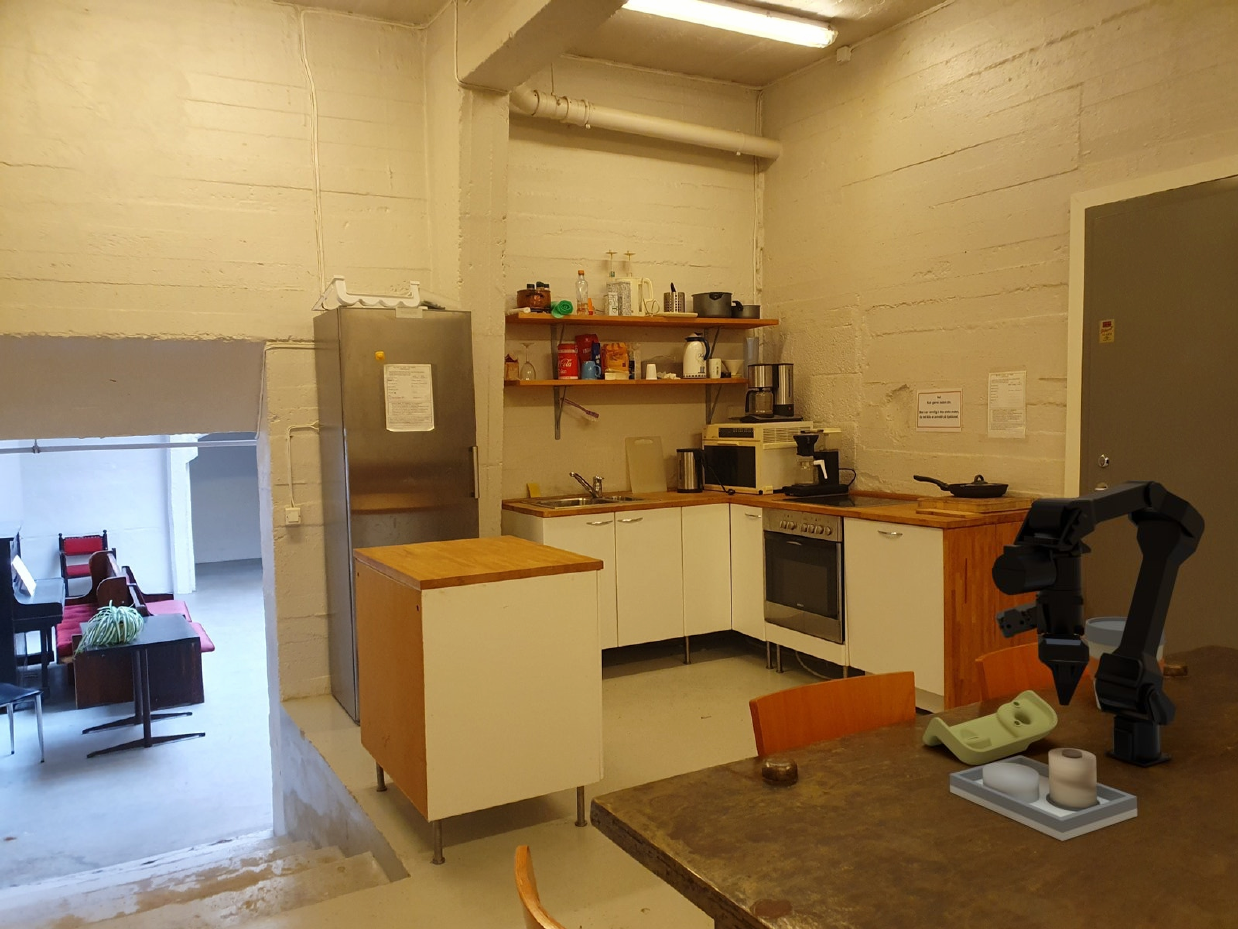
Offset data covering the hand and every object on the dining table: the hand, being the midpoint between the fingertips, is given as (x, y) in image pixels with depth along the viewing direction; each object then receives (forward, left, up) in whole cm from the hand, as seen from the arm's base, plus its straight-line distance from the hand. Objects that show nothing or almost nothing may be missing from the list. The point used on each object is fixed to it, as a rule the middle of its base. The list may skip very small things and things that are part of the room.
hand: (1062, 696), depth 130 cm
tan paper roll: (+8, +7, -11) cm, 15 cm away
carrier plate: (+10, +4, -12) cm, 16 cm away
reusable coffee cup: (-36, -16, -12) cm, 41 cm away
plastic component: (-2, -14, -12) cm, 19 cm away
